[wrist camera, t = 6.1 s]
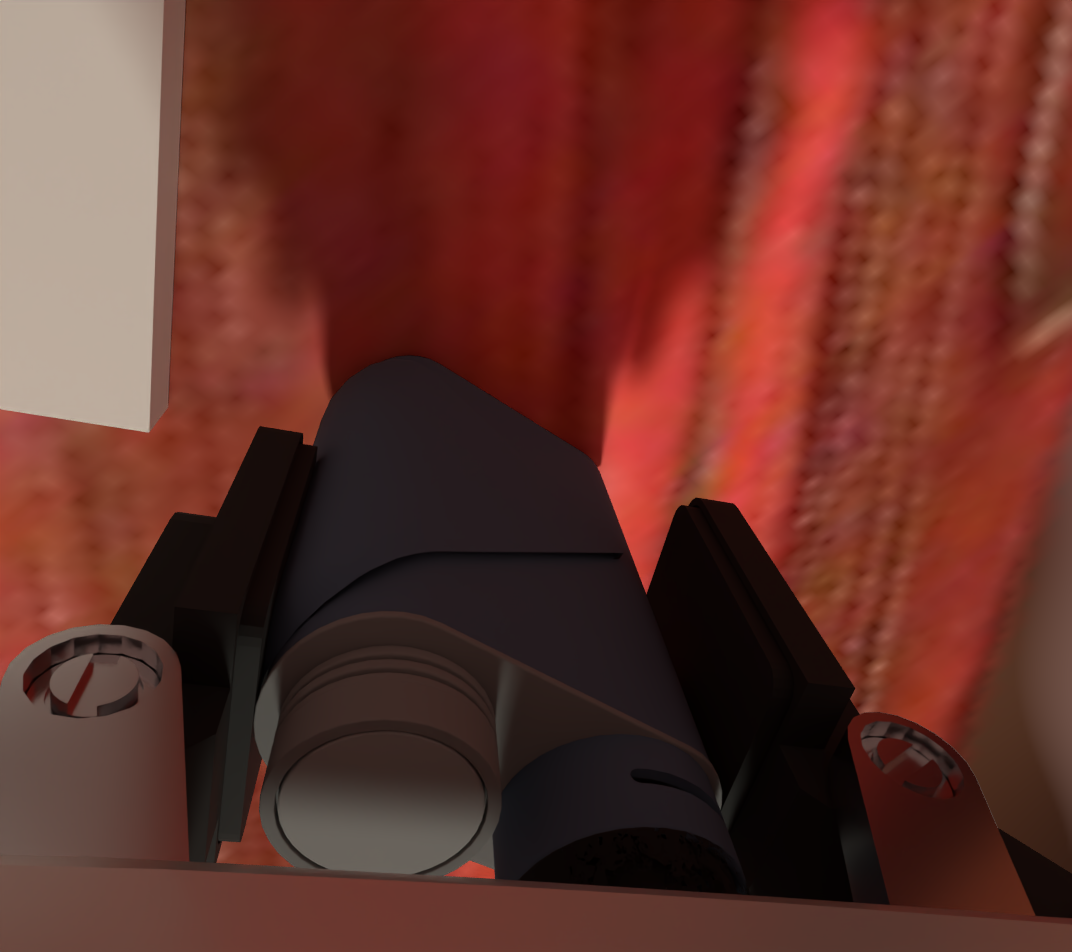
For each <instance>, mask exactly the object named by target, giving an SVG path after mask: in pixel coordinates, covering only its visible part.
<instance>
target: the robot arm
mask: <svg viewBox="0 0 1072 952" xmlns="http://www.w3.org/2000/svg"><path fill="white" fill-rule="evenodd" d="M316 459H317V446H311V445H305V444H303V433H298V432H292V431H286V430H280V429H274V428H268V427H262V426H260V427H259V428H258V430H257V433H256V435H255V437H254V439H253V441H252V443H251V445H250V447H249V449H248V452H247V454H246V456H245V458H244V460H243V462H242V464H241V466H240V469H239V471H238V473H237V475H236V477H235V479H234V481H233V483H232V485H231V488H230V490H229V492H228V494H227V496H226V498H225V500H224V502H223V505H222V507H221V509H220V511H219V513H218V515H217V517H210V516H203V515H196V514H189V513H182V512H177V513H174V515H173V516H172V517H171V519H170V521H169V522H168V524H167V526H166V528H165V529H164V531H163V533H162V535H161V536H160V538H159V540H158V542H157V543H156V545H155V547H154V549H153V550H152V552H151V554H150V556H149V557H148V559H147V561H146V563H145V564H144V566H143V568H142V570H141V572H140V573H139V575H138V577H137V579H136V580H135V582H134V584H133V586H132V587H131V589H130V591H129V593H128V594H127V596H126V598H125V600H124V601H123V603H122V605H121V607H120V608H119V610H118V612H117V614H116V615H115V617H114V619H113V621H112V623H111V624H110V625H102V624H98V625H91V626H83V627H76V628H71V629H68V630H65V631H61V632H58V633H55V634H52V635H49V636H47V637H45V638H43V639H41V640H39V641H37V642H36V643H34V644H32V645H30V646H28V647H27V648H25V649H24V650H23V651H22V652H21V653H20V654H19V655H18V656H17V657H16V658H15V659H14V660H13V661H12V662H11V663H10V664H9V666H8V669H7V671H6V673H5V675H4V677H3V679H2V682H1V687H0V952H1072V874H1071V873H1070V872H1068V871H1067V870H1065V869H1063V868H1062V867H1060V866H1058V865H1057V864H1055V863H1054V862H1052V861H1050V860H1049V859H1047V858H1046V857H1044V856H1042V855H1041V854H1039V853H1038V852H1036V851H1034V850H1033V849H1031V848H1030V847H1028V846H1026V845H1025V844H1023V843H1022V842H1020V841H1018V840H1017V839H1015V838H1013V837H1012V836H1010V835H1009V834H1007V833H1005V832H1004V831H1002V830H1001V829H999V828H997V825H996V823H995V821H994V818H993V816H992V814H991V811H990V809H989V807H988V804H987V802H986V800H985V798H984V795H983V793H982V791H981V788H980V786H979V783H978V781H977V779H976V777H975V775H974V773H973V772H972V770H971V769H970V767H969V765H968V764H967V762H966V761H965V760H964V759H963V758H962V757H961V756H960V755H959V754H958V752H957V751H956V750H955V749H954V748H953V747H952V746H950V745H949V744H948V743H946V742H945V741H944V740H943V739H941V738H940V737H939V736H937V735H936V734H935V733H933V732H931V731H929V730H928V729H926V728H924V727H922V726H921V725H919V724H917V723H915V722H912V721H910V720H907V719H905V718H902V717H899V716H897V715H892V714H887V713H882V712H867V713H862V714H859V713H858V711H857V710H856V708H855V706H854V705H853V703H852V702H851V700H850V698H851V696H852V694H853V692H854V690H855V687H854V686H853V684H852V683H851V681H850V680H849V678H848V677H847V675H846V673H845V672H844V670H843V669H842V667H841V666H840V664H839V663H838V661H837V660H836V658H835V657H834V655H833V654H832V652H831V650H830V649H829V647H828V646H827V644H826V643H825V641H824V640H823V638H822V637H821V635H820V634H819V632H818V631H817V629H816V627H815V626H814V624H813V623H812V621H811V620H810V618H809V617H808V615H807V614H806V612H805V611H804V609H803V607H802V606H801V604H800V603H799V601H798V600H797V598H796V597H795V595H794V594H793V592H792V591H791V589H790V588H789V586H788V584H787V583H786V581H785V580H784V578H783V577H782V575H781V574H780V572H779V571H778V569H777V568H776V566H775V564H774V563H773V561H772V560H771V558H770V557H769V555H768V554H767V552H766V551H765V549H764V548H763V546H762V545H761V543H760V541H759V540H758V538H757V537H756V535H755V534H754V532H753V531H752V529H751V528H750V526H749V525H748V523H747V522H746V520H745V518H744V517H743V515H742V514H741V512H740V511H739V509H738V508H737V506H736V505H734V504H733V503H726V502H720V501H714V500H708V499H702V498H695V499H693V500H692V501H691V503H690V504H689V506H684V505H681V506H680V507H679V508H678V509H677V510H676V512H675V515H674V517H673V520H672V523H671V526H670V529H669V532H668V534H667V537H666V540H665V543H664V546H663V549H662V552H661V555H660V557H659V560H658V563H657V566H656V569H655V572H654V575H653V578H652V580H651V583H650V586H649V589H648V592H647V598H648V600H649V603H650V606H651V608H652V611H653V613H654V616H655V619H656V621H657V624H658V627H659V629H660V632H661V635H662V637H663V640H664V642H665V645H666V648H667V650H668V653H669V656H670V658H671V661H672V663H673V666H674V669H675V671H676V674H677V677H678V679H679V682H680V684H681V687H682V690H683V692H684V695H685V698H686V700H687V703H688V705H689V708H690V711H691V713H692V716H693V719H694V721H695V724H696V726H697V729H698V732H699V734H700V737H701V740H702V742H703V745H704V747H705V750H706V753H707V755H708V758H709V761H710V762H711V763H712V765H713V767H714V769H715V771H716V772H717V774H718V777H719V780H720V784H721V788H722V806H721V810H720V811H721V813H722V816H723V819H724V821H725V824H726V827H727V830H728V832H729V835H730V838H731V840H732V843H733V846H734V849H735V851H736V854H737V857H738V859H739V862H740V865H741V867H742V870H743V873H744V876H745V879H746V881H747V882H746V885H747V884H748V886H749V888H748V889H750V890H749V893H750V892H751V894H752V895H737V894H722V893H706V892H691V891H676V890H660V889H645V888H629V887H613V886H597V885H581V884H566V883H550V882H534V881H518V880H502V879H485V878H468V877H451V876H434V875H416V874H399V873H382V872H365V871H347V870H330V869H313V868H296V867H278V866H261V865H244V864H226V863H216V862H217V858H218V854H219V851H220V847H221V843H222V841H230V842H241V839H242V836H243V832H244V828H245V824H246V820H247V816H248V812H249V808H250V804H251V800H252V796H253V792H254V788H255V784H256V780H257V776H258V772H259V768H260V764H261V760H262V757H261V755H260V753H259V750H258V747H257V744H256V740H255V733H254V715H255V708H256V703H257V700H258V697H259V694H260V691H261V688H262V686H261V682H262V673H263V666H264V660H265V654H266V647H267V641H268V635H269V629H270V623H271V618H272V614H273V610H274V605H275V601H276V597H277V592H278V589H279V586H280V582H281V579H282V576H283V572H284V569H285V565H286V562H287V559H288V555H289V552H290V549H291V545H292V542H293V538H294V535H295V532H296V528H297V525H298V522H299V518H300V515H301V512H302V508H303V505H304V501H305V498H306V495H307V491H308V488H309V485H310V481H311V478H312V474H313V471H314V468H315V464H316ZM268 670H269V669H268ZM267 674H268V671H267V672H266V674H265V676H264V679H263V682H262V685H263V683H264V682H265V680H266V678H267ZM747 894H748V893H747Z"/></svg>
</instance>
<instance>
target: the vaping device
mask: <svg viewBox="0 0 1072 952" xmlns="http://www.w3.org/2000/svg"><path fill="white" fill-rule="evenodd" d="M313 446H317V459H316V464H315V468H314V471H313V474H312V478H311V481H310V485H309V488H308V491H307V495H306V498H305V501H304V505H303V508H302V512H301V515H300V518H299V522H298V525H297V528H296V532H295V535H294V538H293V542H292V545H291V549H290V552H289V555H288V559H287V562H286V565H285V569H284V572H283V576H282V579H281V582H280V586H279V589H278V592H277V597H276V601H275V605H274V610H273V614H272V618H271V623H270V629H269V635H268V641H267V647H266V654H265V660H264V666H263V673H262V682H263V679H264V676H265V674H266V672H267V671H268V674H267V678H266V680H265V682H264V683H263V685H262V682H261V686H262V688H261V691H260V694H259V697H258V700H257V703H256V708H255V715H254V733H255V740H256V744H257V747H258V750H259V753H260V755H261V757H262V759H263V760H264V762H265V764H266V765H267V769H266V773H265V777H264V782H263V786H262V790H261V794H260V806H259V813H260V818H261V823H262V827H263V829H264V831H265V833H266V836H267V838H268V840H269V841H270V843H271V844H272V845H273V847H274V848H275V849H276V851H277V852H278V853H279V854H280V855H281V856H282V857H283V858H284V859H286V860H287V861H288V862H289V863H290V864H291V865H293V866H294V867H296V868H313V869H330V870H347V871H365V872H382V873H399V874H416V875H434V876H444V875H446V874H448V873H450V872H452V871H454V870H456V869H458V868H459V867H461V866H462V865H464V864H465V863H467V862H468V861H470V860H471V861H473V862H476V863H479V864H481V865H484V866H486V867H489V868H492V869H494V870H495V879H502V880H518V881H534V882H550V883H566V884H581V885H597V886H613V887H629V888H645V889H660V890H676V891H691V892H706V893H722V894H737V895H752V894H751V892H750V893H749V890H750V889H748V888H749V886H748V884H747V885H746V882H747V881H746V879H745V876H744V873H743V870H742V867H741V865H740V862H739V859H738V857H737V854H736V851H735V849H734V846H733V843H732V840H731V838H730V835H729V832H728V830H727V827H726V824H725V821H724V819H723V816H722V813H721V811H720V810H721V806H722V788H721V784H720V780H719V777H718V774H717V772H716V771H715V769H714V767H713V765H712V763H711V762H710V761H709V758H708V755H707V753H706V750H705V747H704V745H703V742H702V740H701V737H700V734H699V732H698V729H697V726H696V724H695V721H694V719H693V716H692V713H691V711H690V708H689V705H688V703H687V700H686V698H685V695H684V692H683V690H682V687H681V684H680V682H679V679H678V677H677V674H676V671H675V669H674V666H673V663H672V661H671V658H670V656H669V653H668V650H667V648H666V645H665V642H664V640H663V637H662V635H661V632H660V629H659V627H658V624H657V621H656V619H655V616H654V613H653V611H652V608H651V606H650V603H649V600H648V598H647V595H646V592H645V590H644V587H643V585H642V582H641V579H640V577H639V574H638V571H637V569H636V566H635V564H634V561H633V558H632V556H631V553H630V550H629V548H628V545H627V543H626V540H625V537H624V535H623V532H622V529H621V527H620V524H619V522H618V519H617V516H616V514H615V511H614V508H613V506H612V503H611V501H610V498H609V495H608V493H607V490H606V487H605V485H604V482H603V479H602V477H601V474H600V472H599V470H598V468H597V466H596V465H595V463H594V462H593V461H592V460H591V458H589V457H588V456H587V455H585V454H584V453H583V452H581V451H579V450H578V449H576V448H575V447H573V446H571V445H570V444H568V443H567V442H565V441H563V440H562V439H560V438H559V437H557V436H555V435H554V434H552V433H550V432H549V431H547V430H546V429H544V428H542V427H541V426H539V425H538V424H536V423H534V422H533V421H531V420H529V419H528V418H526V417H525V416H523V415H521V414H520V413H518V412H517V411H515V410H513V409H512V408H510V407H508V406H507V405H505V404H504V403H502V402H500V401H499V400H497V399H496V398H494V397H492V396H491V395H489V394H487V393H486V392H484V391H483V390H481V389H479V388H478V387H476V386H475V385H473V384H471V383H470V382H468V381H466V380H465V379H463V378H462V377H460V376H458V375H457V374H455V373H454V372H452V371H450V370H449V369H447V368H446V367H444V366H442V365H441V364H439V363H437V362H435V361H433V360H431V359H428V358H424V357H420V356H409V355H408V356H398V357H394V358H390V359H387V360H384V361H382V362H379V363H375V364H371V365H369V366H368V367H366V368H364V369H363V370H361V371H360V372H358V373H357V374H355V375H353V376H352V377H350V378H349V379H348V380H347V381H346V382H345V383H344V385H343V386H342V387H341V388H340V389H339V390H338V392H337V393H336V394H335V395H334V396H333V397H332V398H331V400H330V402H329V404H328V407H327V409H326V411H325V413H324V415H323V418H322V420H321V423H320V426H319V429H318V432H317V435H316V438H315V441H314V444H313ZM268 669H269V670H268ZM747 893H748V894H747Z"/></svg>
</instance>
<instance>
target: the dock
mask: <svg viewBox="0 0 1072 952" xmlns="http://www.w3.org/2000/svg"><path fill="white" fill-rule="evenodd" d="M185 8H186V0H0V409H3V410H9V411H16V412H22V413H28V414H35V415H41V416H48V417H54V418H60V419H67V420H73V421H79V422H86V423H92V424H98V425H105V426H111V427H118V428H124V429H130V430H137V431H143V432H150V431H151V429H152V428H153V427H154V425H155V424H156V423H157V421H158V420H159V419H160V417H161V416H162V415H163V413H164V412H165V411H166V409H167V408H168V395H169V372H170V350H171V327H172V304H173V281H174V258H175V236H176V213H177V190H178V167H179V144H180V122H181V99H182V76H183V53H184V30H185Z"/></svg>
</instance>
